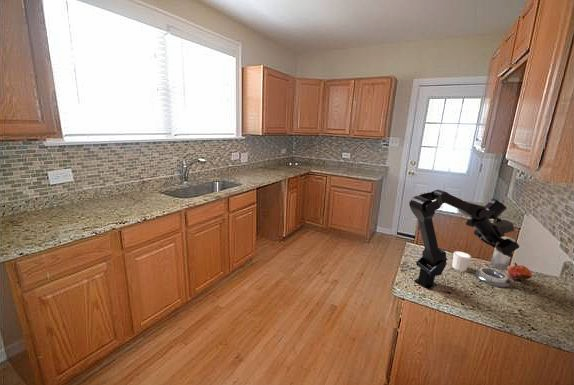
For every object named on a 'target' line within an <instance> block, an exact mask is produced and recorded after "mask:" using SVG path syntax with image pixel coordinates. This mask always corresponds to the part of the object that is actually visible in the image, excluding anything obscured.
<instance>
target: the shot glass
mask: <svg viewBox="0 0 574 385" xmlns="http://www.w3.org/2000/svg"><path fill="white" fill-rule="evenodd" d="M471 258H472V255H471V254H469V253H467V252H465V251H464V252H463V251H460V250H459V251H457V250H455V251H453V256H452V264H451V266H452V268H453V269H455V270H457V271H460V272H466V271H467V270H468V267H469V264H470V262H471V260H472V259H471Z"/></svg>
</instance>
